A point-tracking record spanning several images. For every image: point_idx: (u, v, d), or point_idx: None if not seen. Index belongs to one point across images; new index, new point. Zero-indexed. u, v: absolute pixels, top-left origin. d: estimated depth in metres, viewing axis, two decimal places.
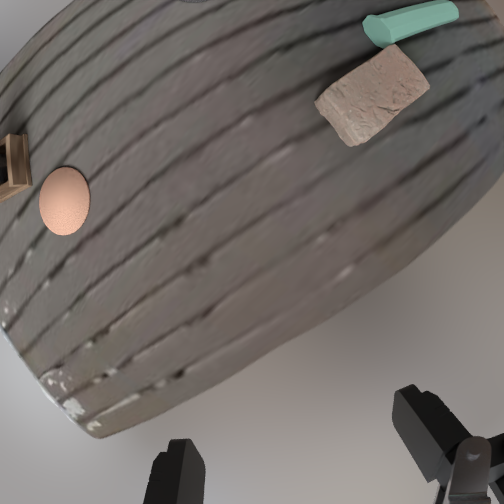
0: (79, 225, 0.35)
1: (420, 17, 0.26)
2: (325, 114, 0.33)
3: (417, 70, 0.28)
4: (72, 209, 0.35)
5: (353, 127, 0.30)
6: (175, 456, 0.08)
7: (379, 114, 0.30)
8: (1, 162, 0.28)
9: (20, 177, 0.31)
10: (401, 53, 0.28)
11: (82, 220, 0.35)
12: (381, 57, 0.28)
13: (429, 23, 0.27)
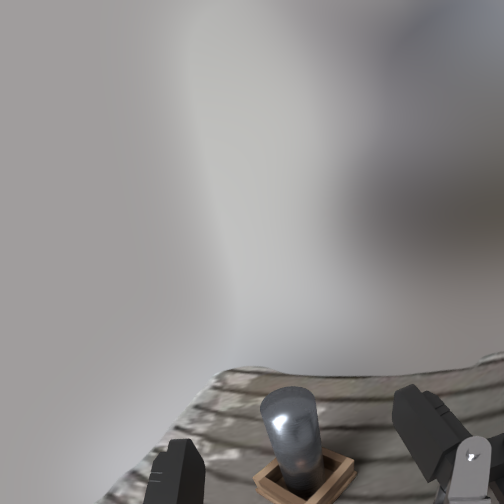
0: None
1: None
2: None
3: None
4: None
5: None
6: (175, 456, 0.08)
7: None
8: (319, 477, 0.23)
9: None
10: None
11: None
12: None
13: None
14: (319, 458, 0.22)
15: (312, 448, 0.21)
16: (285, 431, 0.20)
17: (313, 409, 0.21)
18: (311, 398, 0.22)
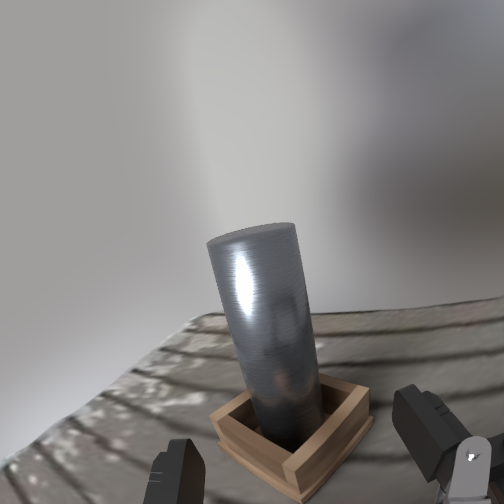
0: None
1: None
2: None
3: None
4: None
5: None
6: (175, 456, 0.08)
7: None
8: (314, 413, 0.16)
9: (310, 474, 0.13)
10: None
11: None
12: None
13: None
14: (312, 365, 0.16)
15: (296, 328, 0.14)
16: (243, 266, 0.13)
17: (291, 231, 0.14)
18: (289, 224, 0.15)
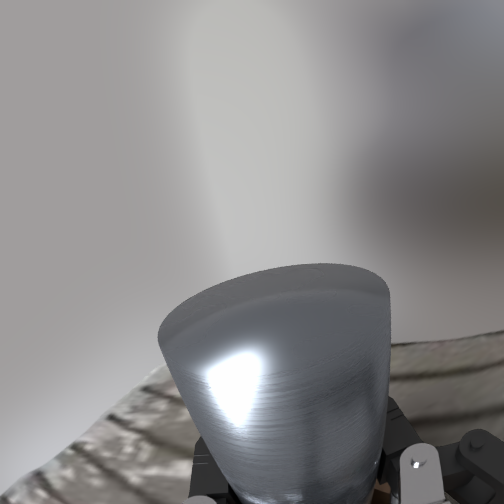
0: None
1: None
2: None
3: None
4: None
5: None
6: None
7: None
8: None
9: None
10: None
11: None
12: None
13: None
14: (368, 503, 0.06)
15: (362, 487, 0.05)
16: (255, 425, 0.04)
17: (388, 309, 0.05)
18: (368, 278, 0.06)
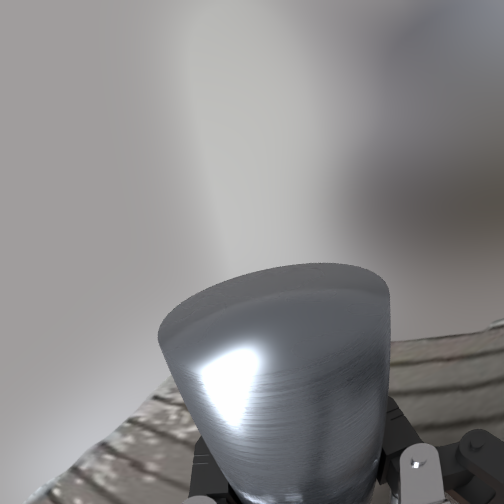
0: None
1: None
2: None
3: None
4: None
5: None
6: None
7: None
8: None
9: None
10: None
11: None
12: None
13: None
14: (368, 503, 0.06)
15: (361, 486, 0.05)
16: (255, 424, 0.04)
17: (388, 308, 0.05)
18: (368, 278, 0.06)
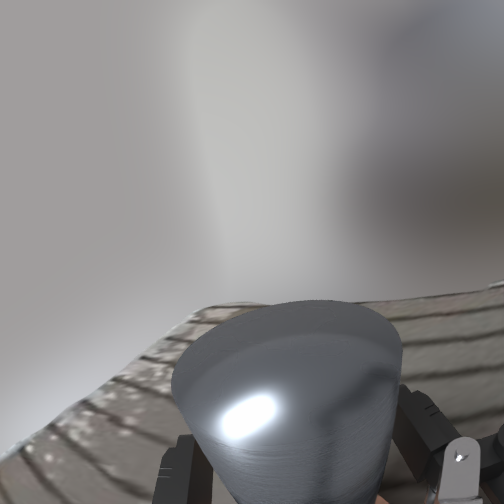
0: None
1: None
2: None
3: None
4: None
5: None
6: (184, 451, 0.08)
7: None
8: None
9: None
10: None
11: None
12: None
13: None
14: None
15: None
16: (272, 476, 0.04)
17: (400, 365, 0.04)
18: (381, 326, 0.06)
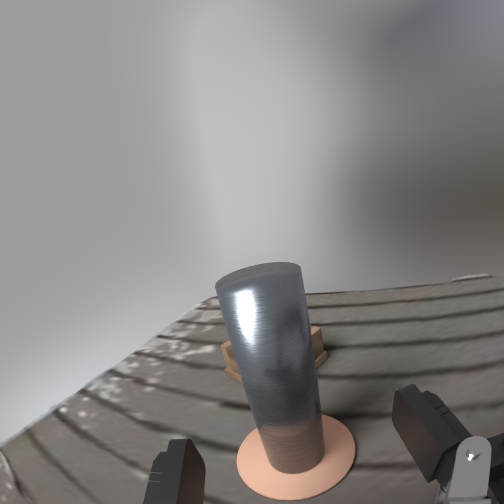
0: (279, 496, 0.15)
1: None
2: None
3: None
4: None
5: None
6: (175, 456, 0.08)
7: None
8: (315, 436, 0.17)
9: None
10: None
11: (292, 496, 0.15)
12: None
13: None
14: (314, 395, 0.16)
15: (300, 365, 0.15)
16: (251, 312, 0.14)
17: (298, 277, 0.15)
18: (295, 267, 0.16)
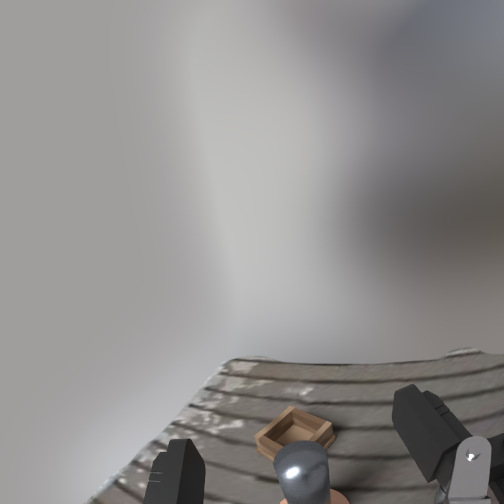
0: None
1: None
2: None
3: None
4: None
5: None
6: (175, 456, 0.08)
7: None
8: None
9: None
10: None
11: None
12: None
13: None
14: (327, 499, 0.20)
15: (321, 494, 0.19)
16: (298, 485, 0.18)
17: (325, 465, 0.18)
18: (324, 454, 0.20)
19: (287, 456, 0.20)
